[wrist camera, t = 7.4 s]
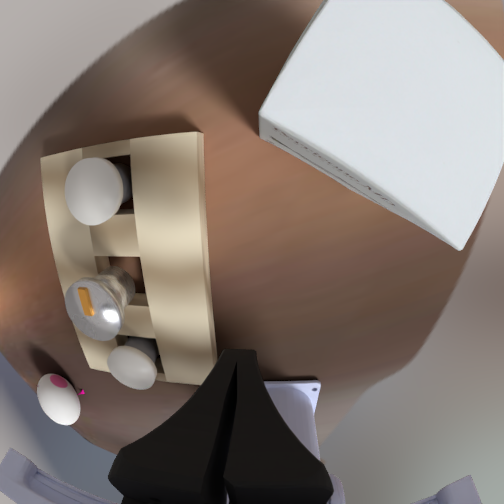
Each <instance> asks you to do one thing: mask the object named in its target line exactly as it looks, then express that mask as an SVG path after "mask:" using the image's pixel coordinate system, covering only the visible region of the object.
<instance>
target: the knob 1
mask: <svg viewBox="0 0 504 504" xmlns="http://www.w3.org/2000/svg"><path fill="white" fill-rule="evenodd" d="M132 196H133V190H132V176H131V168H130V167H128V166H127V165H125V164H122V163H116V164H112V163H111V162H110V161H108V160H106V159H104V158H100V157H94V158H86V159H83V160H80V161H79V162H77V163H76V164H75V165H74V166H73V167H72V168H71V170H70V171H69V173H68V175H67V178H66V182H65V199H66V203H67V206H68V208H69V210H70V212H71V213H72V215H73V216H74V217H75V218H76V219H77V220H78V221H80V222H81V223H83V224H86V225H98V224H101V223H103V222H105V221H107V220H109V219H110V218H112V217H113V216H114V215H115V214H116V212H117V211H118V209H119V208H120V205H121V204H122V203H125V202H127V201H128V200H129V199H130V198H131V197H132Z"/></svg>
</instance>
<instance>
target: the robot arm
mask: <svg viewBox="0 0 504 504" xmlns="http://www.w3.org/2000/svg"><path fill="white" fill-rule="evenodd" d="M320 386H321V384H320V381H318V380H309V381H263V379H262V376H261V373H260V370H259V367H258V362H257V357H256V351H255V350H244V349H224V350H223V351H222V353H221V355H220V357H219V359H218V360H217V362H216V364H215V365H214V367H213V369H212V370H211V372H210V373H209V375H208V376H207V377H206V379H205V380H204V382H203V383H202V384H201V386H200V387H199V388H198V389H197V390H196V392H195V393H194V394H193V395H192V397H191V398H190V399H189V400H188V401H187V402H186V403H185V404H184V405H183V406H182V407H181V408H180V409H179V410H178V411H177V412H176V413H175V414H173V415H172V416H171V417H170V418H169V419H168V420H166V421H165V422H164V423H163V424H161V425H160V426H158V427H157V428H156V429H154V430H153V431H151V432H150V433H148V434H147V435H145V436H144V437H142V438H140V439H138V440H137V441H135V442H133V443H131V444H129V445H127V446H125V447H123V448H121V450H120V451H119V453H118V455H117V456H116V458H115V460H114V462H113V465H112V467H111V470H110V472H109V475H108V479H109V481H110V482H111V484H112V485H113V486H114V487H115V488H116V489H117V490H119V492H120V493H121V494H123V495H124V497H123V500H122V503H121V504H345V496H344V491H343V486H342V483H341V480H340V479H339V478H338V477H336V476H334V474H328V472H327V470H326V468H325V466H324V464H323V463H322V462H321V461H320V455H319V448H318V441H317V434H316V427H315V420H314V412H315V408H316V404H317V399H318V395H319V391H320ZM0 491H1V492H3V493H4V494H5V495H6V496H8V497H9V498H10V499H12V500H13V501H14V502H16V503H17V504H117V503H114V502H111V501H108V500H105V499H103V498H100V497H98V496H95V495H92V494H90V493H87V492H85V491H83V490H80V489H78V488H76V487H73V486H72V485H69V484H67V483H65V482H63V481H61V480H59V479H57V478H55V477H53V476H51V475H49V474H47V473H45V472H44V471H42V470H40V469H38V468H37V466H36V465H35V464H34V463H33V462H32V461H30V460H29V459H28V458H27V457H25V456H24V455H22V454H20V453H19V452H17V451H16V450H14V449H12V448H10V449H9V451H8V452H7V454H6V456H5V457H4V459H3V461H2V463H1V464H0ZM411 504H482V503H481V500H480V498H479V495H478V492H477V489H476V487H475V484H474V482H473V479H472V477H471V475H468V476H466V477H464V478H462V479H460V480H457V481H455V482H453V483H451V484H449V485H447V486H445V487H444V488H442V489H441V490H440V491H439V492H438V493H437V494H435V495H433V496H431V497H428V498H425V499H422V500H420V501H417V502H414V503H411Z"/></svg>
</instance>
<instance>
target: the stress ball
mask: <svg viewBox="0 0 504 504" xmlns="http://www.w3.org/2000/svg"><path fill="white" fill-rule="evenodd" d="M79 394H85V393H84V391H83V389H82V391H81V392H80V393H79ZM37 395H38V399H39V402H40V405H41V407H42V409H43V410H44V412H45V413H46V414H47V415H48V416H49V417H50V418H51V419H52V420H53V421H55V422H57V423H59V424H63V425H70V424H73V423H74V422H76V420H77V419H78V417H79V415H80V402H79V398H78V396H77V395H78V394H77V393H76V391H75V390H74V388H73V387H72V385H71V384H70V383H69V382H68V381H67V380H66V379H64V378H63V377H61V376H59V375H57V374H46V375H44V376H43V377H42V378H41V379H40V381H39V383H38V387H37Z"/></svg>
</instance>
